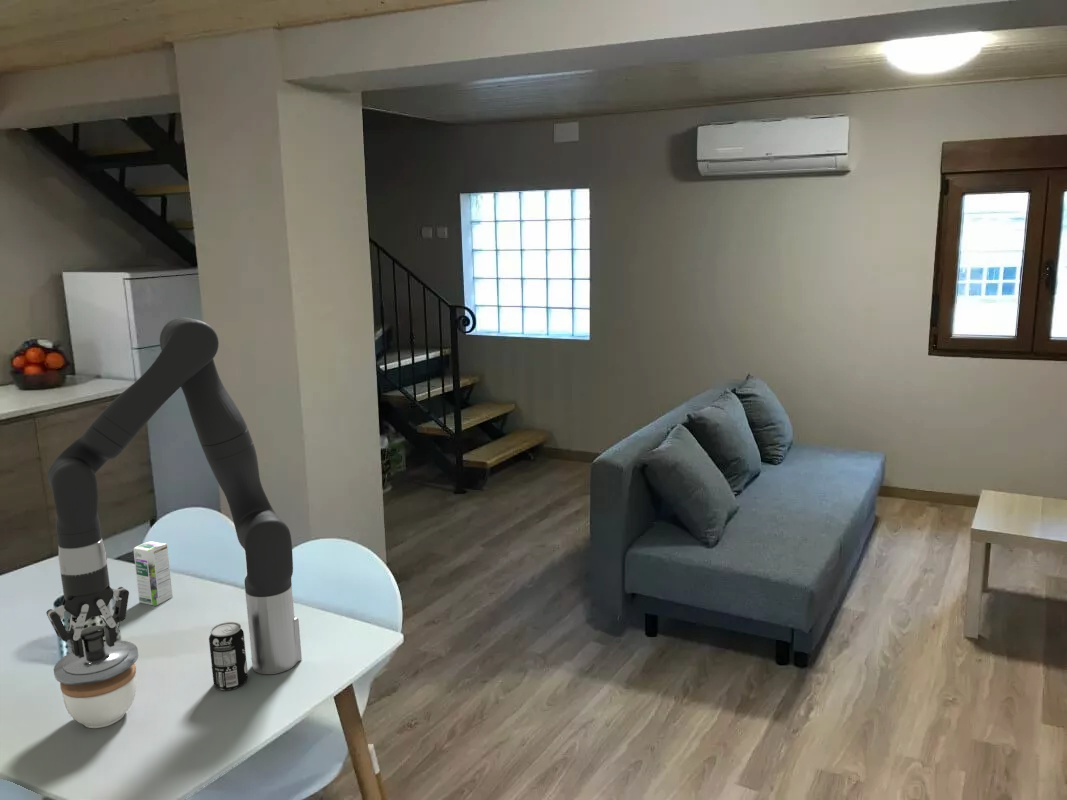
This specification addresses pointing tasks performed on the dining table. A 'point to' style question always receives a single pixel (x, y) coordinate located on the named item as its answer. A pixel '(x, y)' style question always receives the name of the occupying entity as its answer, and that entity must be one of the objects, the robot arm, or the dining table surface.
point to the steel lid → (95, 659)
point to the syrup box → (153, 573)
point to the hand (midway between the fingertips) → (95, 650)
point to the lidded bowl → (101, 699)
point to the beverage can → (228, 656)
